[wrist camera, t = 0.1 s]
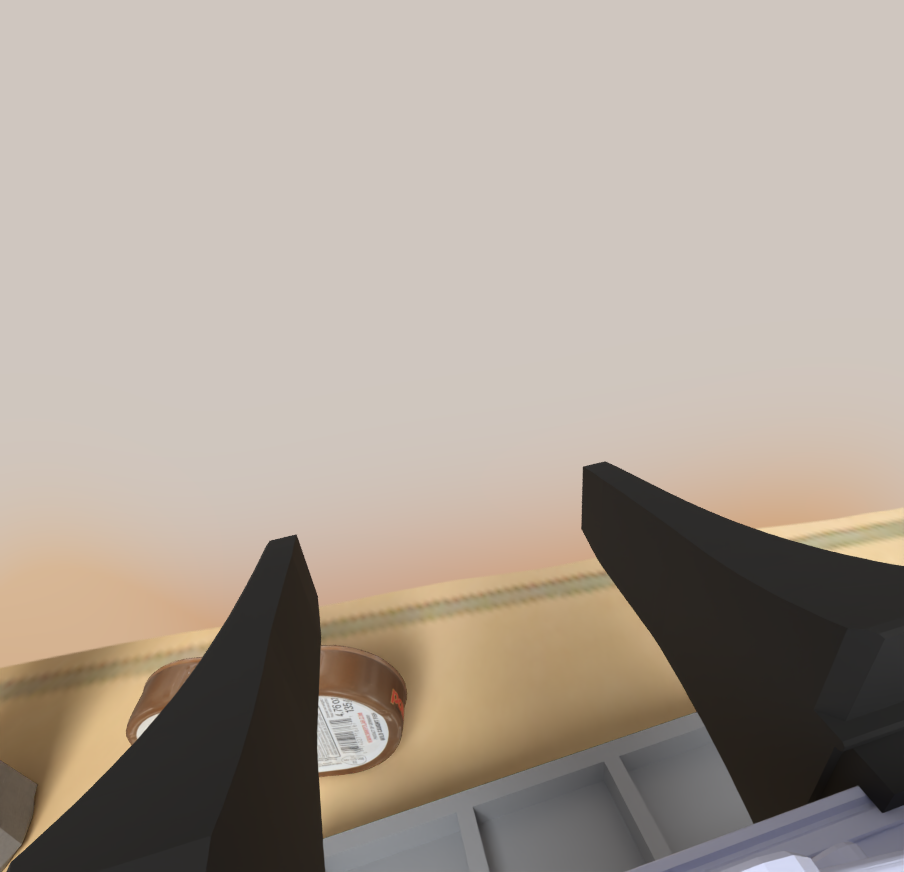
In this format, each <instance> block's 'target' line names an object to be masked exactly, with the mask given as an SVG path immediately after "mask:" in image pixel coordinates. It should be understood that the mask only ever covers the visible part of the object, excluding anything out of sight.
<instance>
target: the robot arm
mask: <svg viewBox="0 0 904 872" xmlns="http://www.w3.org/2000/svg"><path fill="white" fill-rule="evenodd" d="M582 490H583V491H582V527H581V529H582V530H583V533H584V535H585V536H586V538H587V540H588V542H589V544H590V546H591V548H592V550H593V552H594V553H595V555H596V557H597V559H598V561H599V562H600V564H601V565H602V567H603V568H604V569H605V571H606V572H607V574H608V575H609V576H610V578H611V579H612V581H613V582H614V583H615V585H616V586H617V588H618V589H619V590H620V592H621V593H622V594H623V596H624V597H625V599H626V600H627V601H628V603H629V604H630V605H631V607H632V608H633V610H634V611H635V612H636V614H637V615H638V616H639V618H640V619H641V621H642V622H643V623H644V625H645V626H646V627H647V629H648V630H649V632H650V633H651V634H652V636H653V637H654V639H655V640H656V642H657V643H658V645H659V646H660V648H661V650H662V651H663V653H664V655H665V656H666V658H667V660H668V662H669V663H670V665H671V667H672V668H673V670H674V672H675V674H676V675H677V677H678V679H679V680H680V682H681V684H682V686H683V688H684V689H685V691H686V693H687V695H688V697H689V698H690V700H691V702H692V704H693V706H694V707H695V709H696V711H697V713H698V715H699V716H700V718H701V720H702V722H703V724H704V726H705V728H706V730H707V732H708V733H709V735H710V737H711V739H712V741H713V743H714V745H715V747H716V749H717V751H718V753H719V755H720V757H721V758H722V760H723V762H724V764H725V766H726V768H727V770H728V772H729V774H730V776H731V778H732V780H733V783H734V785H735V787H736V789H737V791H738V793H739V795H740V797H741V799H742V801H743V803H744V805H745V807H746V809H747V811H748V813H749V816H750V818H751V820H752V822H753V825H750V826H747V827H745V828H742V829H739V830H736V831H734V832H731V833H728V834H726V835H723V836H720V837H718V838H715V839H712V840H709V841H707V842H704V843H701V844H699V845H696V846H693V847H690V848H688V849H685V850H682V851H680V852H677V853H674V854H671V855H669V856H666V857H663V858H661V859H658V860H655V861H653V862H650V863H647V864H644V865H642V866H639V867H636V868H634V869H631V870H628V871H625V872H904V566H899V565H893V564H887V563H882V562H877V561H872V560H867V559H863V558H858V557H853V556H849V555H844V554H840V553H836V552H832V551H828V550H824V549H820V548H816V547H812V546H809V545H805V544H802V543H798V542H795V541H791V540H787V539H784V538H781V537H778V536H775V535H771V534H768V533H765V532H762V531H760V530H757V529H754V528H751V527H748V526H745V525H743V524H740V523H737V522H734V521H732V520H729V519H727V518H724V517H722V516H719V515H717V514H715V513H712V512H710V511H707V510H705V509H703V508H701V507H698V506H696V505H694V504H692V503H689V502H687V501H685V500H683V499H681V498H679V497H677V496H674V495H672V494H670V493H668V492H666V491H664V490H662V489H660V488H658V487H656V486H654V485H652V484H650V483H648V482H646V481H644V480H642V479H640V478H638V477H636V476H634V475H632V474H630V473H628V472H626V471H624V470H622V469H620V468H618V467H616V466H614V465H612V464H609V463H607V462H601V463H597V464H593V465H589V466H584V467H583V487H582ZM320 653H321V629H320V616H319V605H318V596H317V593H316V590H315V587H314V584H313V581H312V578H311V576H310V573H309V570H308V567H307V564H306V561H305V558H304V555H303V552H302V549H301V546H300V543H299V540H298V538H297V535H292V536H288V537H284V538H280V539H275V540H271V541H269V543H268V544H267V546H266V548H265V550H264V552H263V554H262V556H261V558H260V560H259V562H258V564H257V566H256V568H255V570H254V572H253V574H252V575H251V577H250V579H249V581H248V583H247V585H246V587H245V589H244V590H243V592H242V594H241V596H240V597H239V599H238V601H237V603H236V605H235V606H234V608H233V610H232V612H231V614H230V615H229V617H228V619H227V620H226V622H225V623H224V625H223V626H222V628H221V629H220V631H219V633H218V634H217V636H216V637H215V639H214V641H213V642H212V644H211V645H210V647H209V648H208V650H207V651H206V653H205V654H204V656H203V657H202V659H201V660H200V662H199V663H198V664H197V666H196V667H195V669H194V670H193V671H192V673H191V674H190V675H189V677H188V678H187V679H186V681H185V682H184V683H183V685H182V686H181V687H180V689H179V690H178V691H177V693H176V694H175V695H174V697H173V698H172V699H171V700H170V701H169V703H168V704H167V705H166V706H165V708H164V709H163V710H162V711H161V712H160V713H159V715H158V716H157V717H156V718H155V719H154V720H153V722H152V723H151V724H150V725H149V726H148V727H147V729H146V730H145V731H144V732H143V733H142V734H141V736H140V737H139V738H138V739H137V740H136V741H135V742H134V743H133V745H132V746H131V747H130V748H129V749H128V750H127V751H126V752H125V753H124V754H123V755H122V756H121V757H120V758H119V760H118V761H117V762H116V763H115V764H114V765H113V766H112V767H111V768H110V769H109V770H108V771H107V772H106V773H105V774H104V775H103V776H102V777H101V778H100V779H99V780H98V781H97V782H96V783H95V784H94V785H93V786H92V787H91V788H90V789H89V790H88V791H87V792H86V793H85V794H84V795H83V796H82V797H81V798H80V799H79V800H78V801H77V802H76V803H75V804H74V805H73V806H72V807H71V808H70V809H68V810H67V811H66V812H65V813H64V814H63V815H62V816H61V817H60V818H59V819H58V820H57V821H56V822H54V823H53V824H52V825H51V826H50V827H49V828H48V829H47V830H46V831H45V832H44V833H43V834H41V835H40V836H39V837H38V838H37V839H36V840H35V841H34V842H33V843H32V844H31V845H30V846H28V847H27V848H26V849H25V850H24V851H23V852H22V853H21V854H20V855H18V856H17V857H16V858H15V859H14V860H13V861H12V862H11V863H10V865H9V868H8V870H7V872H325V861H324V849H323V834H322V819H321V805H320V789H319V771H318V753H317V728H318V703H319V679H320Z"/></svg>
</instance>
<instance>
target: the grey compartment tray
mask: <svg viewBox="0 0 904 872" xmlns="http://www.w3.org/2000/svg"><path fill="white" fill-rule="evenodd" d="M750 825H753V822H752V820H751V818H750V816H749V813H748V811H747V809H746V807H745V805H744V803H743V801H742V799H741V797H740V795H739V793H738V791H737V789H736V787H735V785H734V783H733V780H732V778H731V776H730V774H729V772H728V770H727V768H726V766H725V764H724V762H723V760H722V758H721V757H720V755H719V753H718V751H717V749H716V747H715V745H714V743H713V741H712V739H711V737H710V735H709V733H708V732H707V730H706V728H705V726H704V724H703V722H702V720H701V718H700V716H699V715H698V713H697V712H695V713H692V714H689V715H686V716H683V717H681V718H678V719H675V720H672V721H669V722H666V723H663V724H660V725H657V726H654V727H651V728H648V729H645V730H642V731H639V732H636V733H633V734H630V735H627V736H625V737H622V738H619V739H616V740H613V741H610V742H607V743H604V744H601V745H598V746H595V747H592V748H589V749H586V750H583V751H580V752H577V753H574V754H572V755H569V756H566V757H563V758H560V759H557V760H554V761H551V762H548V763H545V764H542V765H539V766H536V767H533V768H530V769H527V770H524V771H521V772H518V773H516V774H513V775H510V776H507V777H504V778H501V779H498V780H495V781H492V782H489V783H486V784H483V785H480V786H477V787H474V788H471V789H468V790H465V791H462V792H460V793H457V794H454V795H451V796H448V797H445V798H442V799H439V800H436V801H433V802H430V803H427V804H424V805H421V806H418V807H415V808H412V809H409V810H406V811H404V812H401V813H398V814H395V815H392V816H389V817H386V818H383V819H380V820H377V821H374V822H371V823H368V824H365V825H362V826H359V827H356V828H353V829H351V830H348V831H345V832H342V833H339V834H336V835H333V836H330V837H327V838H324V839H323V849H324V861H325V872H625V871H628V870H631V869H634V868H636V867H639V866H642V865H644V864H647V863H650V862H653V861H655V860H658V859H661V858H663V857H666V856H669V855H671V854H674V853H677V852H680V851H682V850H685V849H688V848H690V847H693V846H696V845H699V844H701V843H704V842H707V841H709V840H712V839H715V838H718V837H720V836H723V835H726V834H728V833H731V832H734V831H736V830H739V829H742V828H745V827H747V826H750Z"/></svg>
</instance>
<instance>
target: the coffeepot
mask: <svg viewBox="0 0 904 872" xmlns="http://www.w3.org/2000/svg"><path fill="white" fill-rule="evenodd" d="M36 788H37V784H36V783H34V782H33V781H31V780H30V779H28V778H27V777H25V776H24V775H22V774H21V773H19V772H18V771H16V770H15V769H13V768H11V767H10V766H8V765H7V764H5V763H4V762H2V761H1V760H0V872H2V871H3V870H4V868H5V867H6V866H7V864H8V863H9V861H10V860H11V858H12V857H13V855H14V854H15V852H16V851H17V850H18V848H19V847H20V846H21V845H22V843H23V840H24V838H25V836H26V833H27V831H28V828H29V825H30V822H31V819H32V817H33V810H34V796H35V792H36Z"/></svg>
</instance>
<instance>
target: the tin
mask: <svg viewBox="0 0 904 872" xmlns="http://www.w3.org/2000/svg"><path fill="white" fill-rule="evenodd" d="M201 659H202V657H196V658H189V659H182V660H178V661H175V662H172V663H170V664H167V665H165V666H163V667H161V668H160V669H158V670H157V671H156V672H154V673H153V674H152V675H151V676H150V677H149V679H148V680H147V682H146V684H145V686H144V690H143V693H142V695H141V697H140V699H139V701H138V703H137V705H136V707H135V709H134V711H133V713H132V715H131V717H130V719H129V722H128V725H127V729H126V736H127V738H128V740H129V742H130V743H131V745H133V743H134V742H135V741H136V740H137V739H138V738H139V737H140V736H141V734H142V733H143V732H144V731H145V730H146V729H147V727H148V726H149V725H150V724H151V723H152V722H153V720H154V719H155V718H156V717H157V716H158V715H159V713H160V712H161V711H162V710H163V709H164V708H165V706H166V705H167V704H168V703H169V701H170V700H171V699H172V698H173V697H174V695H175V694H176V693H177V691H178V690H179V689H180V687H181V686H182V685H183V683H184V682H185V681H186V679H187V678H188V677H189V675H190V674H191V673H192V671H193V670H194V669H195V667H196V666H197V664H198V663H199V662H200V660H201ZM406 700H407V689H406V685H405V682H404V680H403V678H402V677H401V675H400V674H399V673H398V671H397V670H396V669H395V668H394V667H393V666H391V665H390V664H389V663H388V662H386V661H385V660H383V659H382V658H380V657H378V656H376V655H374V654H371V653H369V652H366V651H363V650H359V649H356V648H351V647H345V646H336V645H321V653H320V679H319V703H318V728H317V753H318V771H319V777H324V776H334V775H344V774H351V773H356V772H360V771H364V770H367V769H369V768H372V767H374V766H376V765H378V764H380V763H382V762H383V761H385V760H386V759H387V758H388V757H389V756H390V755H391V754H392V753H393V752H394V751H395V750H396V748H397V747H398V745H399V742H400V739H401V736H402V730H403V721H404V707H405V704H406Z"/></svg>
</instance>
